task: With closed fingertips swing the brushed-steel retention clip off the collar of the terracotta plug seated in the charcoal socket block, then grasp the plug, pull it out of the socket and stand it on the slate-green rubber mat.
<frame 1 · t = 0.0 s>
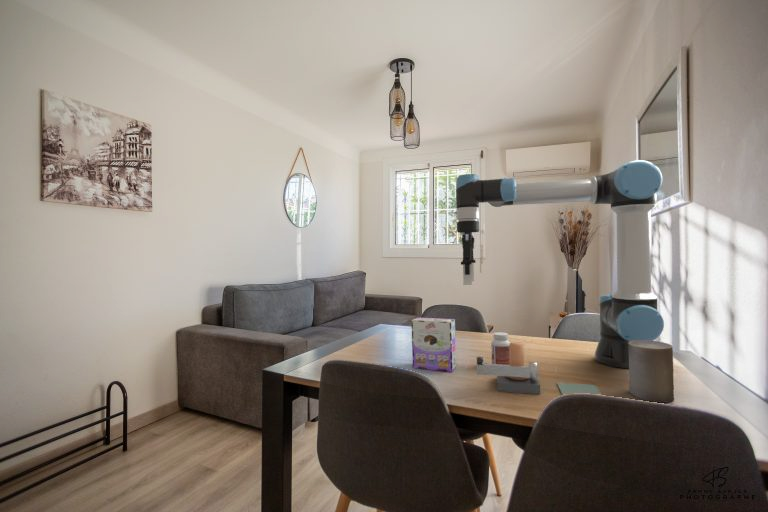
hand: (468, 283, 129), 28 cm above the table, fingers open, 13 cm apart
pillar candle: (650, 396, 100), on the table
candy box: (434, 368, 127), on the table
pill bottle: (501, 367, 127), on the table
plug: (517, 365, 109), in the socket
clip: (506, 369, 106), point 6 cm above the table, hinge at 0.0°
mat: (579, 391, 104), on the table
socket: (517, 385, 109), on the table
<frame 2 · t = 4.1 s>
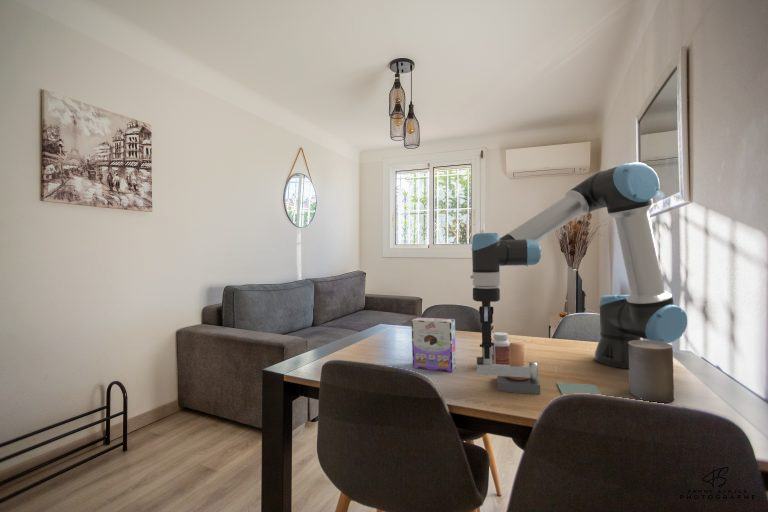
hand: (487, 368, 109), 5 cm above the table, fingers closed
clip: (506, 369, 106), point 6 cm above the table, hinge at 0.0°, touching gripper
everything else where it was.
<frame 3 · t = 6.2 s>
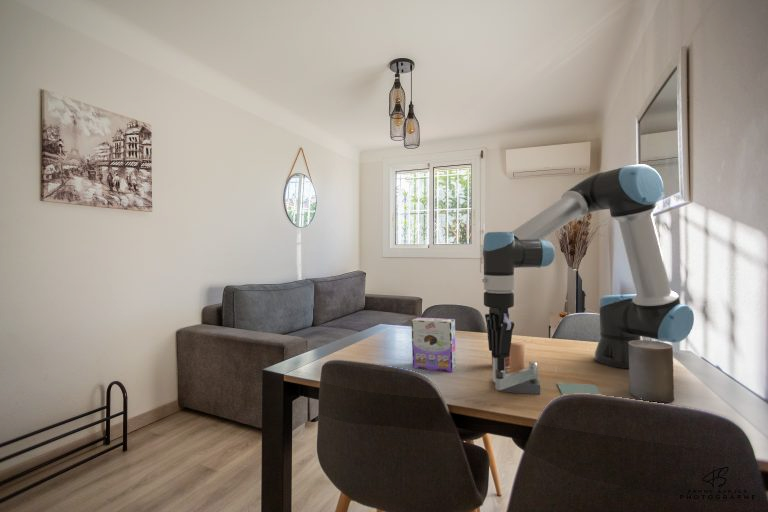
hand: (498, 381, 99), 5 cm above the table, fingers closed
clip: (517, 376, 100), point 6 cm above the table, hinge at 50.2°, touching gripper
everything else where it was.
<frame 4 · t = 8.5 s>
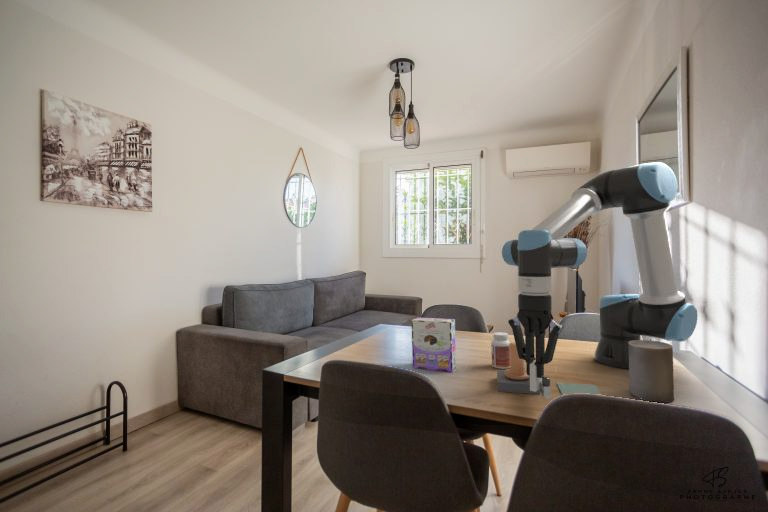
hand: (535, 389, 93), 5 cm above the table, fingers closed
clip: (539, 379, 97), point 6 cm above the table, hinge at 95.8°, touching gripper
everything else where it was.
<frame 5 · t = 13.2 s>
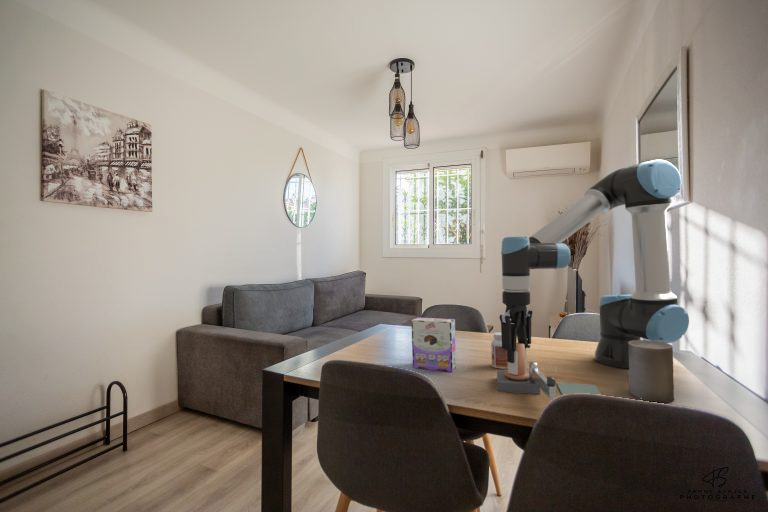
hand: (517, 371, 109), 4 cm above the table, fingers closed on plug, 4 cm apart
plug: (517, 364, 109), in the socket, touching gripper
clip: (541, 379, 97), point 6 cm above the table, hinge at 100.5°
everything else where it was.
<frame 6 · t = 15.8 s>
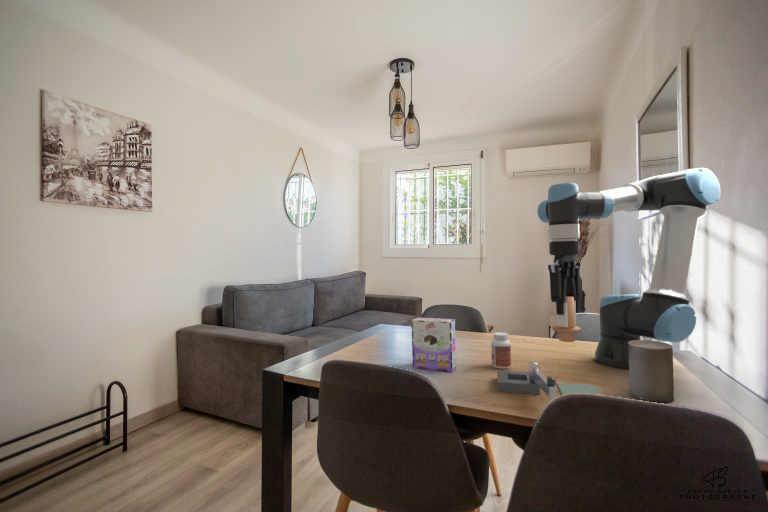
hand: (566, 324, 105), 18 cm above the table, fingers closed on plug, 4 cm apart
plug: (566, 318, 105), point 20 cm above the table, touching gripper
everything else where it was.
when the fingers open (6 cm above the table, at t = 18.6 s): plug drops 1 cm, resting on mat.
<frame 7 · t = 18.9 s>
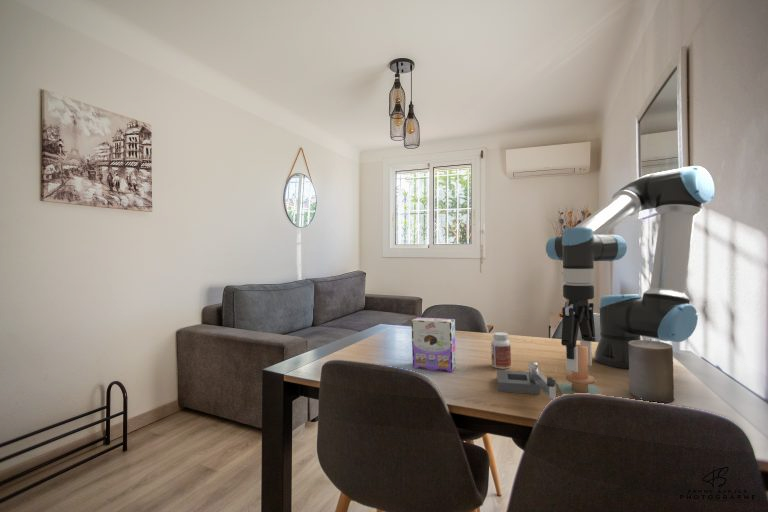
hand: (579, 367, 104), 7 cm above the table, fingers open, 8 cm apart
plug: (579, 368, 103), on the mat
everything else where it was.
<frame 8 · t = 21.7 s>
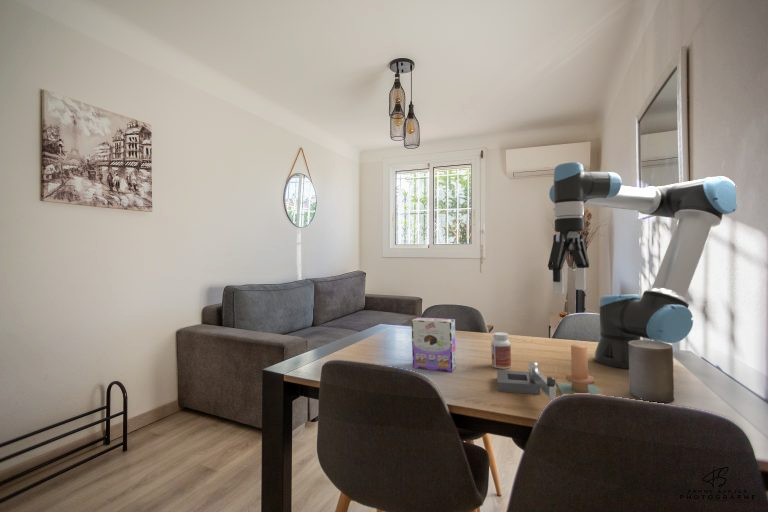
hand: (569, 291, 109), 27 cm above the table, fingers open, 13 cm apart
nothing on the table moved.
at the end: clip at +100° (first picture: +0°); plug inside the target area on the mat (0.1 cm from its centre), point 6.4 cm above the mat's base; plug tilted 0° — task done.
